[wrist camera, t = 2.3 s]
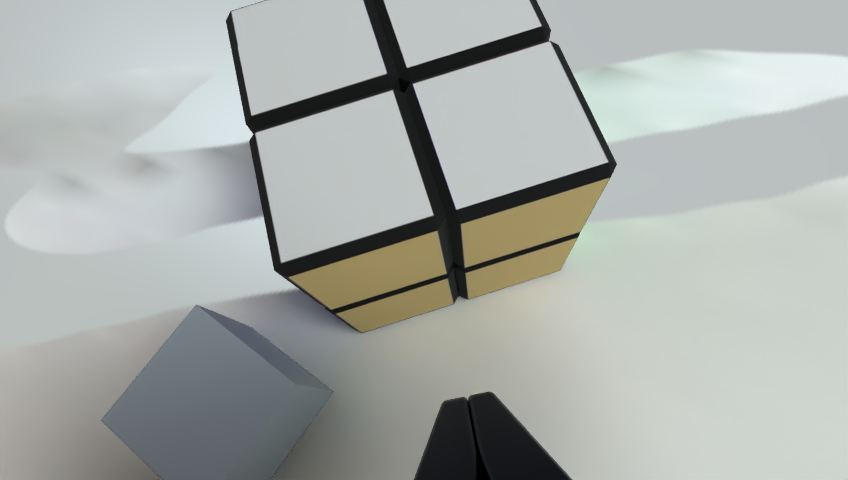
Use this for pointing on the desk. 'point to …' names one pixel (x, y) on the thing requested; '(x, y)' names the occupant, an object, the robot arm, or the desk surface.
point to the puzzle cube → (414, 149)
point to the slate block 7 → (216, 403)
